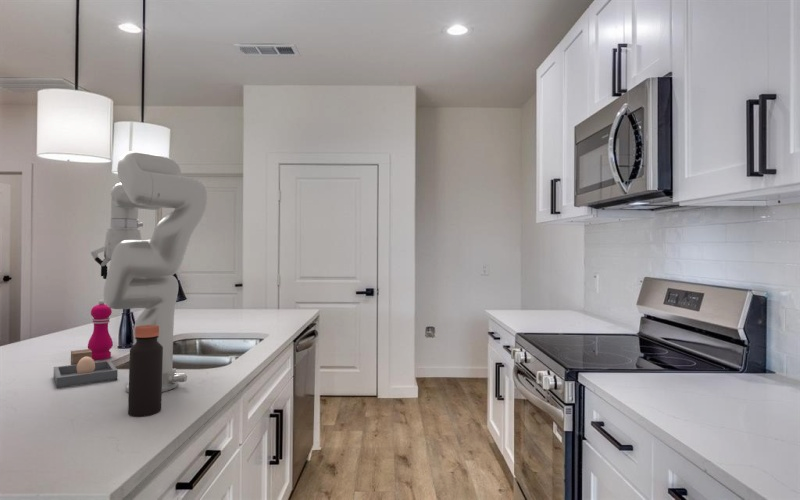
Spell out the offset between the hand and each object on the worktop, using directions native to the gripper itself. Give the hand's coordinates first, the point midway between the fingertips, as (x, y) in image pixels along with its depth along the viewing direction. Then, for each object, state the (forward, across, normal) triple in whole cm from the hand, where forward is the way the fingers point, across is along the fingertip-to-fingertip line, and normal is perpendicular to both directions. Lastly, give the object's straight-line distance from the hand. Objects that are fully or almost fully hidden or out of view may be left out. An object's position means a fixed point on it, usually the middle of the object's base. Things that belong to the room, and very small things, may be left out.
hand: (122, 278), depth 144 cm
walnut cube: (+28, +10, -7) cm, 31 cm away
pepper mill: (+28, +4, -17) cm, 34 cm away
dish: (+28, +10, +9) cm, 31 cm away
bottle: (+28, +2, +49) cm, 57 cm away
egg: (+28, +10, +9) cm, 31 cm away
